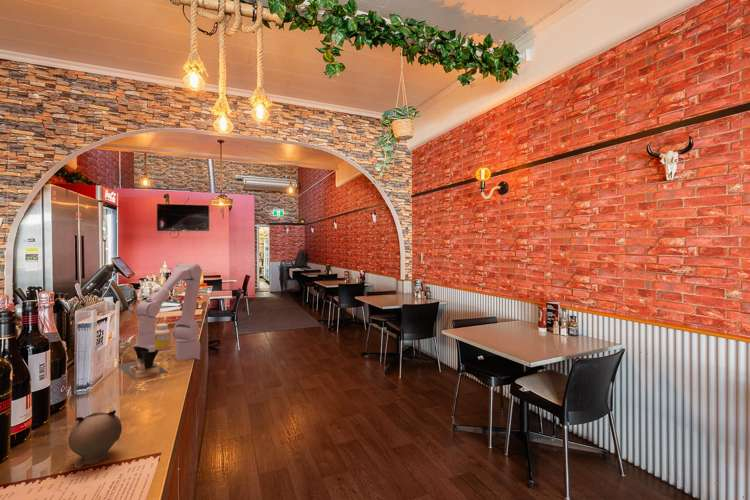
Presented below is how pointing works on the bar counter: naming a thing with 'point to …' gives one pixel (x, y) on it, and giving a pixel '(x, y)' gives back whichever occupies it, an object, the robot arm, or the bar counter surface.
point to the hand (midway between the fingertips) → (144, 365)
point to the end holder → (144, 371)
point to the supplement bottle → (162, 337)
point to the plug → (140, 364)
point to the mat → (126, 366)
